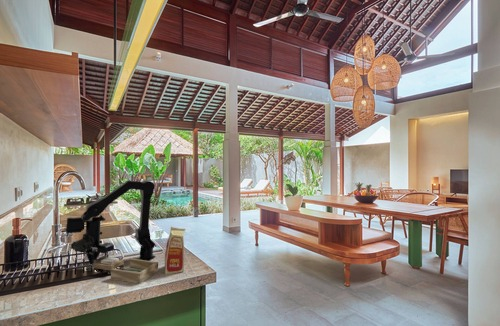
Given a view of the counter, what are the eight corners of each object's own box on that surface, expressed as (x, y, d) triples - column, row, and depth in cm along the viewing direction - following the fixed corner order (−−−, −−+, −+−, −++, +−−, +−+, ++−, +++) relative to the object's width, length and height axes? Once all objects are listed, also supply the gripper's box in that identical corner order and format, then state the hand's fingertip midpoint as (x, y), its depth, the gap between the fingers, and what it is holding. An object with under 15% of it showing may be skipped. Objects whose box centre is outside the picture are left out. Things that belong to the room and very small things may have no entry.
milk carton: (165, 274, 117) (166, 229, 117) (163, 266, 125) (165, 224, 125) (186, 271, 120) (187, 228, 120) (183, 264, 129) (184, 223, 129)
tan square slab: (105, 264, 123) (105, 254, 123) (123, 267, 121) (124, 257, 121) (92, 271, 116) (92, 260, 116) (111, 274, 113) (111, 263, 113)
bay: (131, 267, 123) (131, 258, 123) (157, 270, 120) (158, 262, 120) (110, 278, 110) (110, 269, 110) (139, 283, 107) (140, 273, 107)
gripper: (60, 233, 115) (59, 268, 115) (96, 237, 110) (94, 274, 110) (82, 227, 125) (81, 259, 125) (115, 231, 121) (114, 264, 121)
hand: (92, 264), depth 120 cm, fingers closed
